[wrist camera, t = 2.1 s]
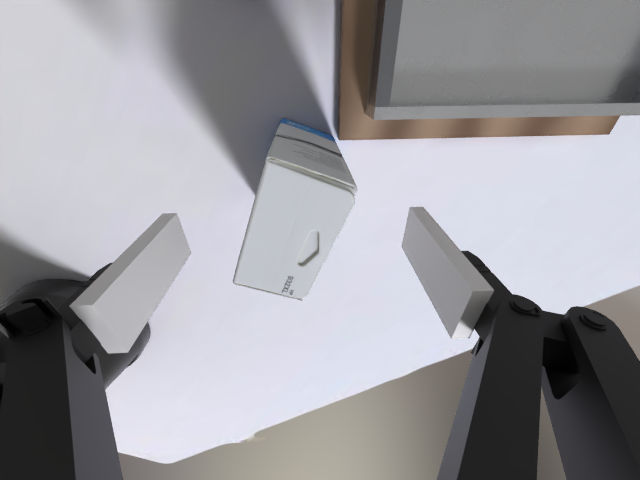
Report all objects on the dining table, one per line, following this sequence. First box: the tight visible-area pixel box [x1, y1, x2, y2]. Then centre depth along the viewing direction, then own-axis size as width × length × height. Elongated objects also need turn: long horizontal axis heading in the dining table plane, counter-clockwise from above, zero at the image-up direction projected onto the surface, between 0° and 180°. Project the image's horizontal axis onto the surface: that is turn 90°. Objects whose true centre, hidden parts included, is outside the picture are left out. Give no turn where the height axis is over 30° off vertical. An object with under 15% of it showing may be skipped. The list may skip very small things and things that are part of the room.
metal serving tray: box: [365, 0, 640, 120], centre depth 16 cm, size 22×12×3 cm, turn 90°
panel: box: [338, 0, 620, 140], centre depth 18 cm, size 24×16×1 cm, turn 90°
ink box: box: [233, 118, 357, 301], centre depth 19 cm, size 8×5×12 cm, turn 159°
